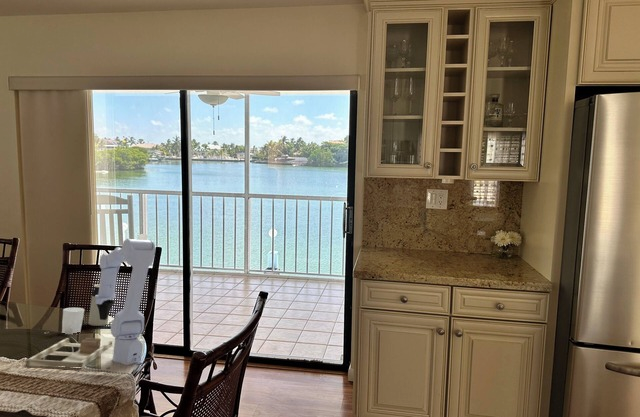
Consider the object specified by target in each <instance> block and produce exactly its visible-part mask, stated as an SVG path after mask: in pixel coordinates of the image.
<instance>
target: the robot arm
mask: <svg viewBox="0 0 640 417" xmlns="http://www.w3.org/2000/svg"><path fill="white" fill-rule="evenodd" d="M155 256H156V244H155V242H154V241H153V239H134V238H125V240H124V241H123V242H122V247H118V246H117V247H115V248H114V250H112V251H111V252H110V253H108V254H106V253H103V254H102V255H101V256H100V259H99V268H100V270H101V271H100V278H99V284H100V285H99V293H98V295H95V297H97V299H96V305H97V307H98V309H99V315H100V320H106V319H107V317H108V318H109V316H108V315H109V314H110V312H111V309H112V307H113V306H114V304H115V302H116V301H115V300H114V299H115V298H116V283H117V276H118V274H119V270H120V267H121V265H122V263H124V262H125V261H126V264H127V265H129V266H131V267H132V271H131V275H130V279H129V283H128V286H127V288H128V289H127V292H126V296H125V301H124V305H123V308H122V309H121V310H119V311H118V312H117V313H116V314H115V315H114V317H113V320H112V322H111V324H110V333H111V336H113V338H115V339H114V345H113V354H112V355H113V356H112V361H113V363H119V364H122V365H124V366H125V365H126V366H128V365H131V364H132V365H133V364H135V365H140V364H143V361H142V354H143V347H144V346H143V343H142V341H140V340H139V339H138V338H139V337H140V335H141V334H142V333H143V332H144V329H145V316H144V314H143V313H142V312H141V311H140V305H141V302H142V298H143V297H142V296H143V292H144V288H145V284H146V280H147V275H148V272H149V268H150V266H151V265H152V264H153V263H154V260H155ZM110 299H111V300H110Z"/></svg>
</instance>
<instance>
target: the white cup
mask: <svg viewBox="0 0 640 417" xmlns="http://www.w3.org/2000/svg"><path fill="white" fill-rule="evenodd" d="M84 314H85V308H82V307H66V308H63V309H62V322H61V324H62V325H61V326H62V327H61V334H62V333H65V334H64V335H73V333H77V332H80V333H81V330H82V326H83V322H84V321H83V320H84Z"/></svg>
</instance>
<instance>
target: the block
mask: <svg viewBox="0 0 640 417" xmlns="http://www.w3.org/2000/svg"><path fill="white" fill-rule="evenodd" d="M80 344H81V345H80V347H79V349H80V353H93V352H95V351H96V350H98V349H99V348H100V345H101V338H97V337H95V338H94V337H86V338H84V339H82V340H80Z"/></svg>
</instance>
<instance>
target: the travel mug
mask: <svg viewBox="0 0 640 417" xmlns="http://www.w3.org/2000/svg"><path fill="white" fill-rule="evenodd" d="M99 285H100V283H97V284H94V285H93V287H94V288H93V289H94V290H93V291H92V293H91V301H90V309H89V318H88V325H90V326H94V327H101V326H105V325H106V326H107V324H109V323H108V322H109V315H108V317H107V319H106V320H100V315H99V309H98V307H97V305H96V299H97V297H95V295H98V293H99ZM110 300H112V299H110Z"/></svg>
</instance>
